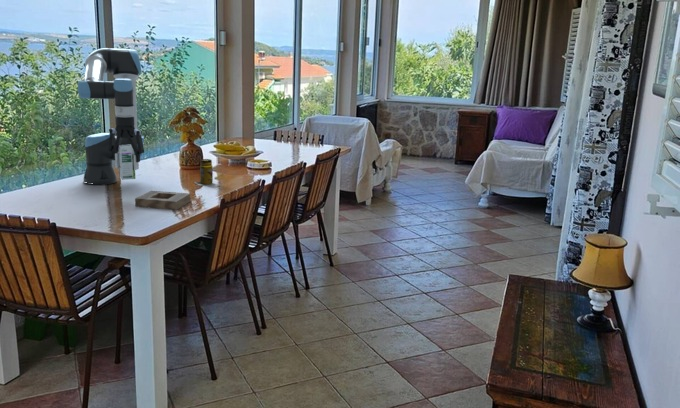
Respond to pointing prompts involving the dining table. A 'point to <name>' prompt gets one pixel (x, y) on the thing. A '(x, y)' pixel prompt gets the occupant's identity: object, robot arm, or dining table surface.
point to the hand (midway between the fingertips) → (127, 168)
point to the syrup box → (126, 162)
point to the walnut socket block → (162, 200)
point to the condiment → (206, 172)
